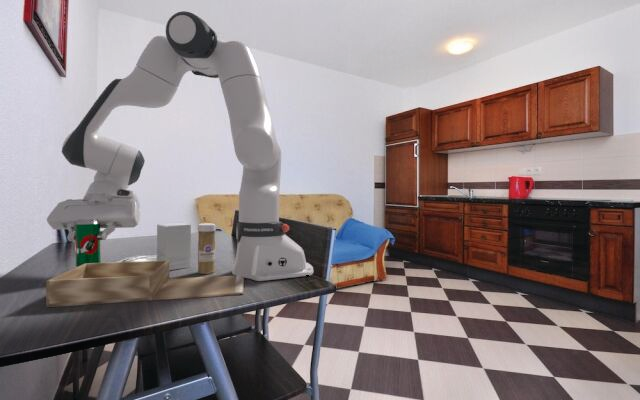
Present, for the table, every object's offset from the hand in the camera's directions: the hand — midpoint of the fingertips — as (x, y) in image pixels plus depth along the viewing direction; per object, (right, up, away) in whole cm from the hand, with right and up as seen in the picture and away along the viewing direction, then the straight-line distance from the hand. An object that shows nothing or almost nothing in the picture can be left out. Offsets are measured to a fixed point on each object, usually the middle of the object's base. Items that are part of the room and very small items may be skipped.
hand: (86, 239), depth 74 cm
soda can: (0, -7, +1) cm, 7 cm away
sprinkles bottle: (+28, -10, +7) cm, 30 cm away
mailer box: (+23, -10, -8) cm, 26 cm away
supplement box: (+16, -10, +12) cm, 22 cm away
